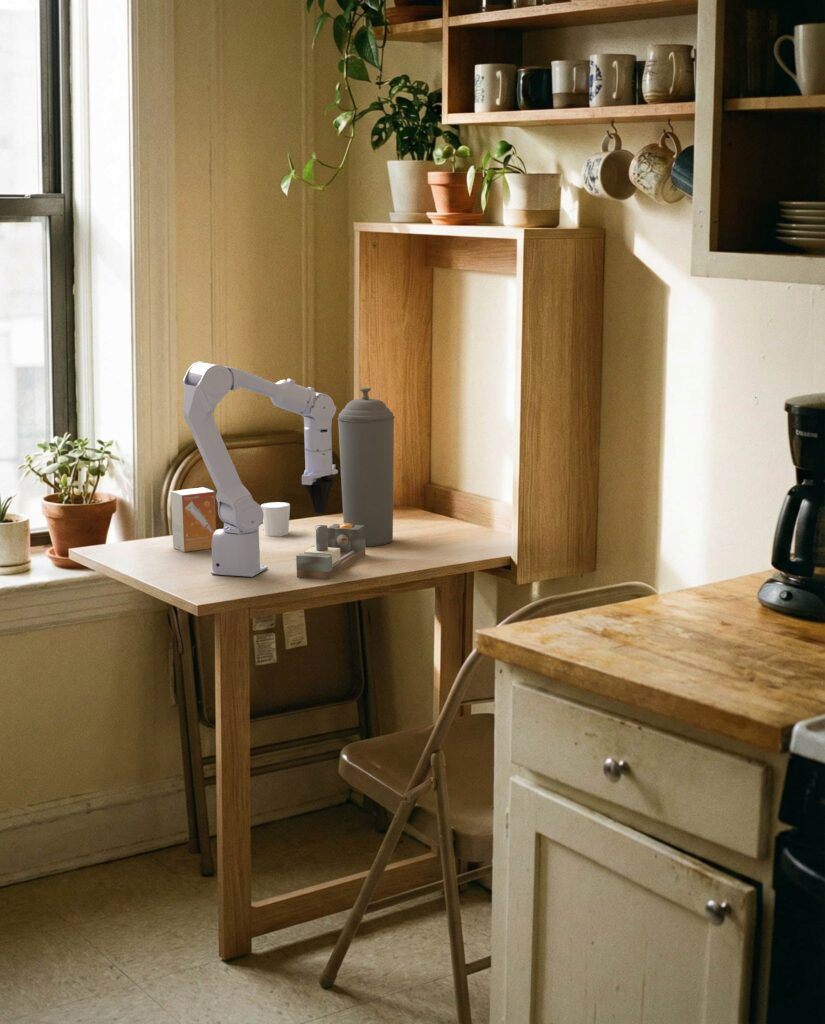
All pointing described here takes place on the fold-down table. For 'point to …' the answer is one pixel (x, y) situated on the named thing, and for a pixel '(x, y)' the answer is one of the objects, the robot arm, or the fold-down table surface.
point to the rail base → (322, 565)
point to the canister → (367, 467)
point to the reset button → (346, 525)
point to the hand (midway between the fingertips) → (320, 512)
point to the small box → (193, 518)
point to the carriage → (323, 545)
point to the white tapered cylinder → (276, 518)
